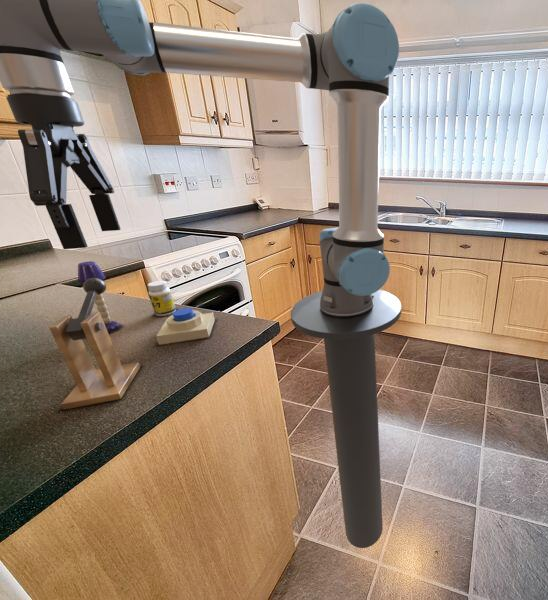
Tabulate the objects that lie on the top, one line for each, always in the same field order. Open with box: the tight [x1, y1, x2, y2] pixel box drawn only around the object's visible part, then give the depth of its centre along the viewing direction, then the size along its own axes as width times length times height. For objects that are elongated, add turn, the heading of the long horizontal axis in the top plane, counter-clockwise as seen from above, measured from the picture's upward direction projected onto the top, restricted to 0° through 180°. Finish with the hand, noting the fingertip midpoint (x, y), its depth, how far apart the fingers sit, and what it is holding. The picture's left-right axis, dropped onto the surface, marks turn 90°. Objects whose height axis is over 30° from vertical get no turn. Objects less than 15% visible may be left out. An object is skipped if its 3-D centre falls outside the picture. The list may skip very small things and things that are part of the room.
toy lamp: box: [77, 260, 121, 334], centre depth 78 cm, size 5×5×17 cm
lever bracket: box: [48, 311, 141, 410], centre depth 58 cm, size 10×8×14 cm
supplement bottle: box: [147, 280, 177, 317], centre depth 88 cm, size 5×5×8 cm
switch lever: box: [65, 278, 107, 340], centre depth 59 cm, size 13×3×3 cm, turn 20°
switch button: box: [172, 307, 194, 322], centre depth 78 cm, size 4×4×2 cm
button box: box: [155, 309, 216, 346], centre depth 79 cm, size 10×9×4 cm
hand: (95, 238), depth 58 cm, fingers open, 13 cm apart
